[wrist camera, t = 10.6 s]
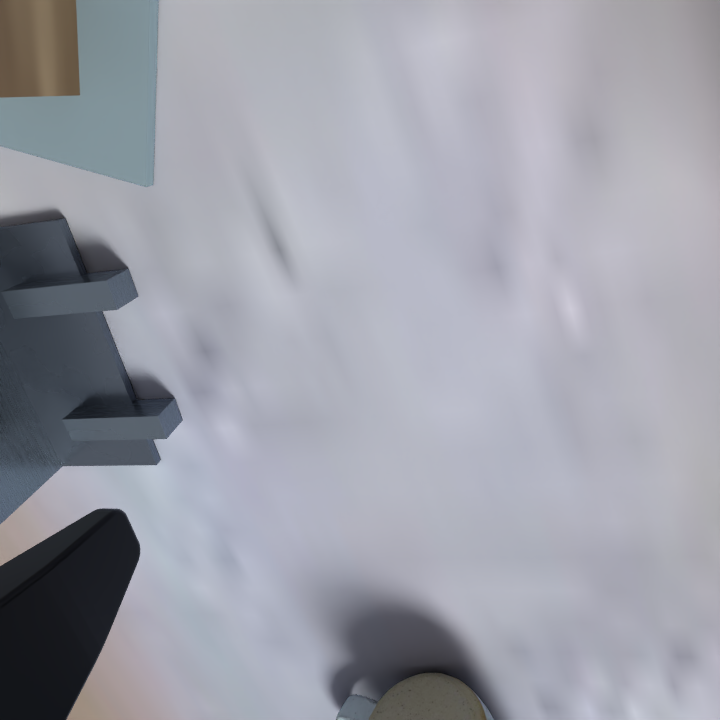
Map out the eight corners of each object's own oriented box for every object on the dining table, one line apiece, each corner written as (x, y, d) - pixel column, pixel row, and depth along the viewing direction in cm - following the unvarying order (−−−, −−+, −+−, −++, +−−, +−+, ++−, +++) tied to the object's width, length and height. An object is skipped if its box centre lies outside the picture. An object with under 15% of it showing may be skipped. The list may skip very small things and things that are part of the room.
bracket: (108, 212, 21) (10, 246, 16) (196, 459, 26) (141, 535, 21) (-62, 236, 23) (-190, 272, 18) (52, 461, 28) (-26, 531, 23)
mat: (162, -127, 15) (152, -133, 15) (153, 184, 20) (146, 187, 19) (-119, -196, 16) (-136, -204, 15) (-67, 123, 20) (-78, 124, 20)
